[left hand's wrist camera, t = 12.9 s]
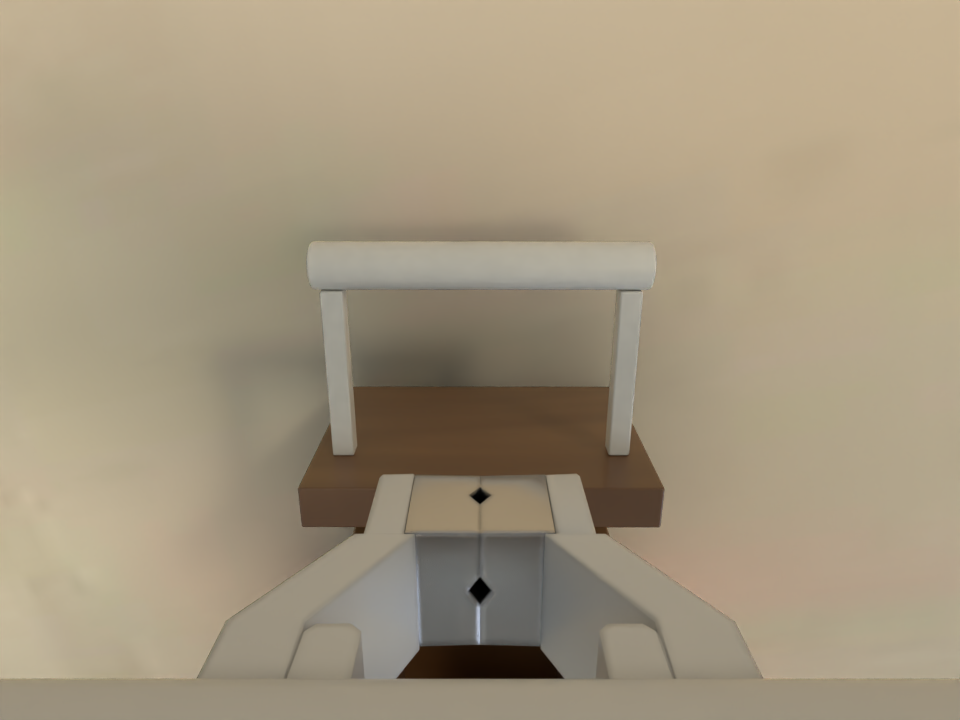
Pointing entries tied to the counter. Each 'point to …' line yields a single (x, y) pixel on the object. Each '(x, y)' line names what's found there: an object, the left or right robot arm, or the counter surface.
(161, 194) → the counter surface
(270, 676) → the left robot arm
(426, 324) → the counter surface
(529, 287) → the drawer
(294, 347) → the counter surface
